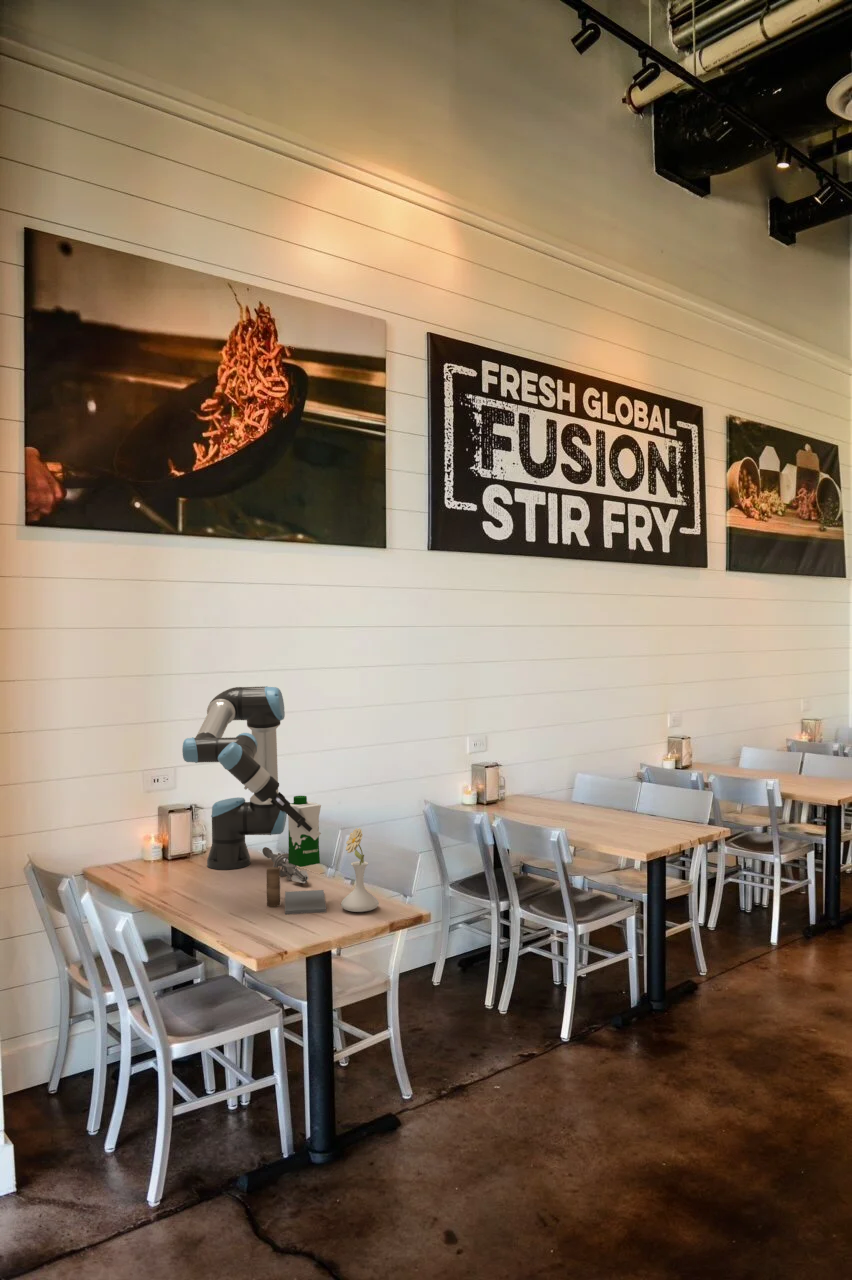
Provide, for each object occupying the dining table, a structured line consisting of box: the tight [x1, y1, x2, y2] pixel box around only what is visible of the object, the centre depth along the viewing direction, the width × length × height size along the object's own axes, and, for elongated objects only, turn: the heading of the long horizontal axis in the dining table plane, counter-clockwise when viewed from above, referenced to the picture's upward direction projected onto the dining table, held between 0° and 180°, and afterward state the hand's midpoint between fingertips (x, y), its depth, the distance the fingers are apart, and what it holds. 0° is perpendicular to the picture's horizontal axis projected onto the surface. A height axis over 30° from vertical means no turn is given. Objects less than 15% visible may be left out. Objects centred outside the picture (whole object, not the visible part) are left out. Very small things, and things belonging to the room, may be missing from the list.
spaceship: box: [262, 846, 310, 885], centre depth 307 cm, size 8×35×8 cm
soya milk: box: [287, 795, 322, 868], centre depth 274 cm, size 9×9×20 cm
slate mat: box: [284, 889, 327, 915], centre depth 275 cm, size 20×12×1 cm, turn 9°
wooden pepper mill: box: [266, 866, 281, 908], centre depth 274 cm, size 4×4×11 cm
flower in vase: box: [340, 827, 380, 913], centre depth 268 cm, size 13×11×25 cm
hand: (314, 833), depth 275 cm, fingers closed on soya milk, 9 cm apart
